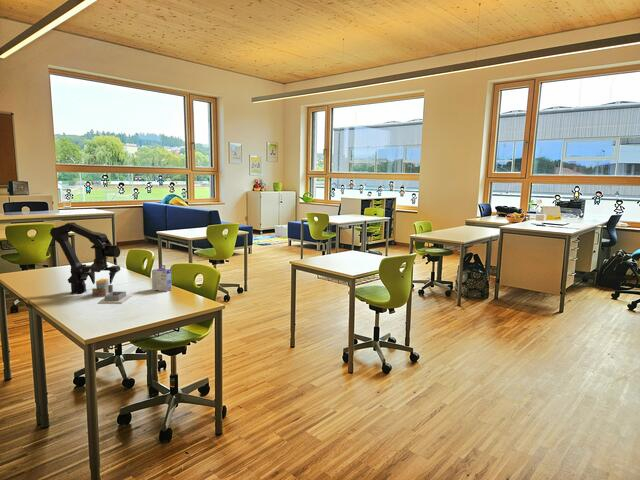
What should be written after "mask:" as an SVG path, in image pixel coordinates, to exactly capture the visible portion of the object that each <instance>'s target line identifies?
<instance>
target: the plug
mask: <svg viewBox="0 0 640 480" xmlns="http://www.w3.org/2000/svg"><path fill="white" fill-rule="evenodd" d="M95 283H96V286H95V289H106V295H107V294H109V293H110V292H109V285H110V282H109V278H100V279H98V280H95Z"/></svg>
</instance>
